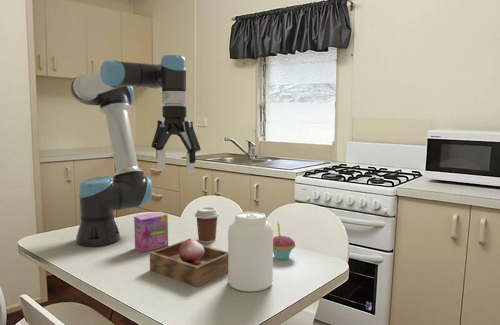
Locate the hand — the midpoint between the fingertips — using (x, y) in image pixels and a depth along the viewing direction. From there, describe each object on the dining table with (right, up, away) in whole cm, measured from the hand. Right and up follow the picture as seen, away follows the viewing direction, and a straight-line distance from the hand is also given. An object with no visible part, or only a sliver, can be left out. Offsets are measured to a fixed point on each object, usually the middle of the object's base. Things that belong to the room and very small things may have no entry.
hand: (175, 171), depth 131 cm
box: (-11, -28, +13) cm, 32 cm away
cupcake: (+35, -29, +4) cm, 45 cm away
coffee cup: (+8, -27, +21) cm, 35 cm away
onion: (+7, -28, -8) cm, 29 cm away
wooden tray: (+6, -30, -8) cm, 32 cm away
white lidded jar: (+24, -31, -17) cm, 43 cm away
